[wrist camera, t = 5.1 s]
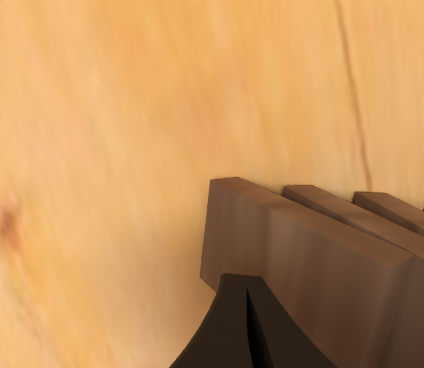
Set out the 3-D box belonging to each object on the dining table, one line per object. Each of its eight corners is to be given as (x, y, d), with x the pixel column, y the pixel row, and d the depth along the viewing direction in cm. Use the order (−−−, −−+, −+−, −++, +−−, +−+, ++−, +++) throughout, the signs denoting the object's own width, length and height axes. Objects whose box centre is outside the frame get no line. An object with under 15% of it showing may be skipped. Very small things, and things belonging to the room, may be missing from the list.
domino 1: (199, 277, 16) (346, 408, 10) (210, 180, 15) (389, 268, 9) (224, 268, 17) (372, 384, 11) (237, 176, 16) (415, 254, 10)
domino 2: (267, 281, 16) (424, 434, 10) (284, 186, 15) (483, 289, 8) (292, 275, 17) (454, 415, 10) (311, 185, 16) (514, 278, 9)
